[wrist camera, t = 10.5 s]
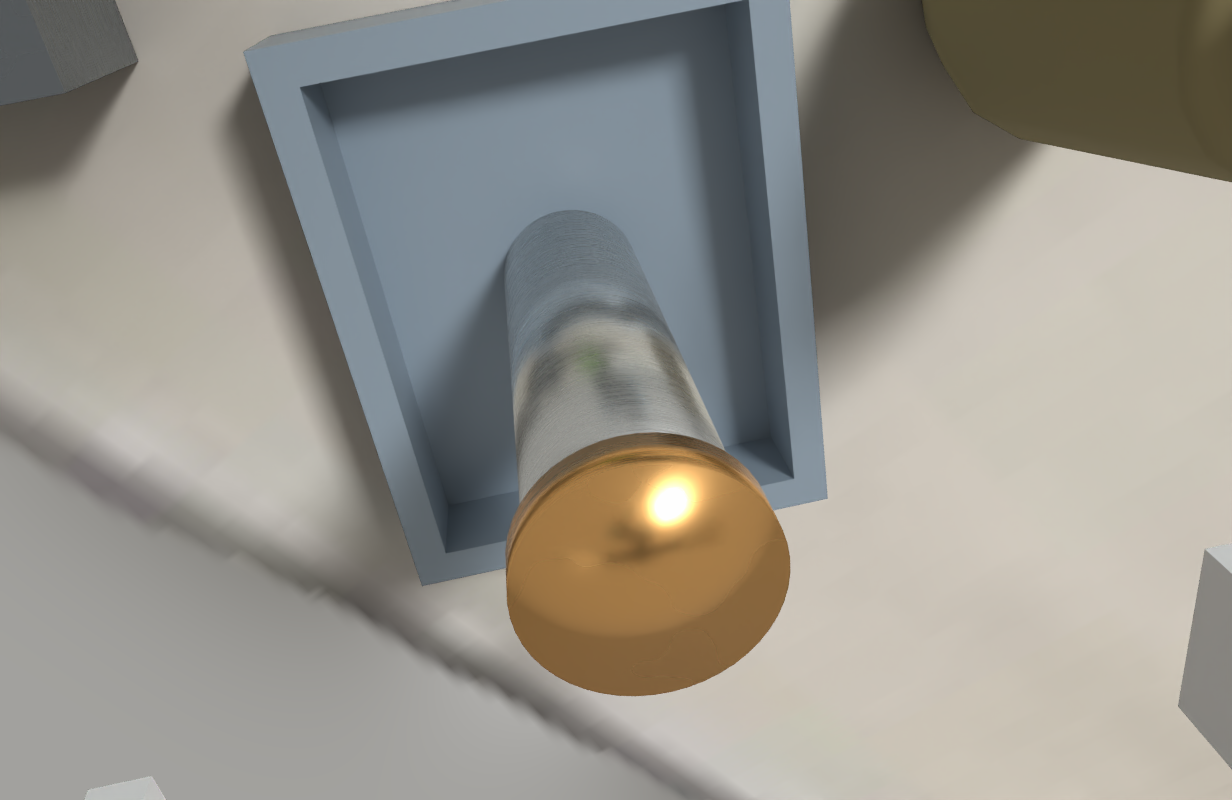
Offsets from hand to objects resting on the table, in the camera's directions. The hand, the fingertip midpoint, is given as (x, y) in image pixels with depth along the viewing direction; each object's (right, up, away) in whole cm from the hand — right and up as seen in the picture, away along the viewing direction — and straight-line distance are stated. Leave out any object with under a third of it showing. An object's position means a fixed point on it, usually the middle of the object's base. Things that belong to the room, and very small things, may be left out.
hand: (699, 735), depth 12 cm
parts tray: (-2, +8, +17) cm, 19 cm away
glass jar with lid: (-2, +8, +17) cm, 19 cm away
